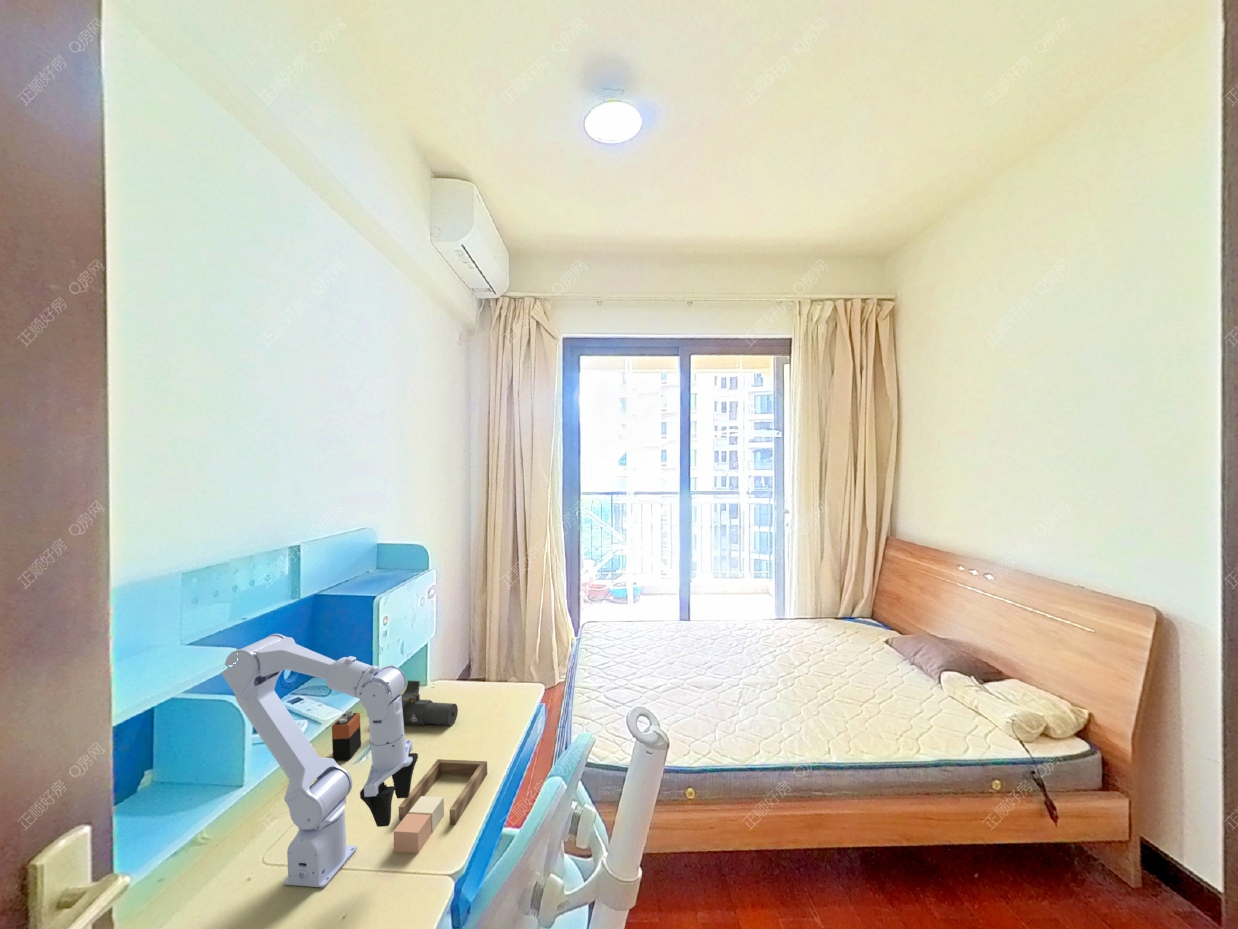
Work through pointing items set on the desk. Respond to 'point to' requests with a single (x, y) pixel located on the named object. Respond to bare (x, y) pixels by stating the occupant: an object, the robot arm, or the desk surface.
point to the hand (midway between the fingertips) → (393, 810)
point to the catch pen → (448, 768)
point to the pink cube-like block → (412, 833)
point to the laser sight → (425, 708)
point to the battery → (346, 736)
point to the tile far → (430, 809)
